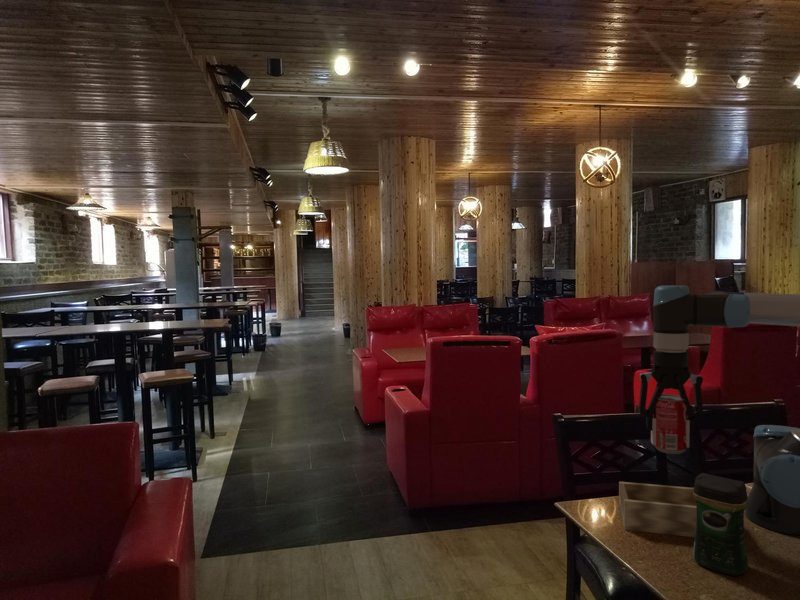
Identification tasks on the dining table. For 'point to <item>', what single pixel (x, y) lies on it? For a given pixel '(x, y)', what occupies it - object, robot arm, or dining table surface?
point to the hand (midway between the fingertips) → (669, 444)
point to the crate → (658, 508)
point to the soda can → (670, 424)
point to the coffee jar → (720, 524)
